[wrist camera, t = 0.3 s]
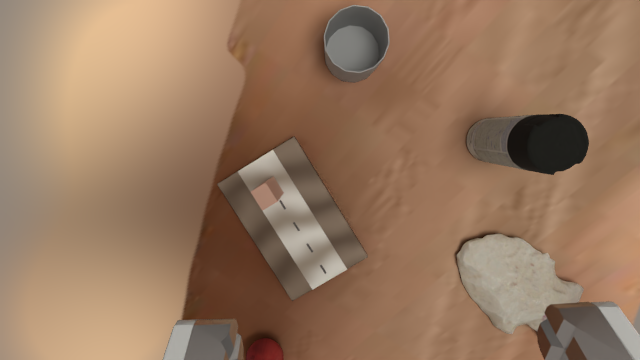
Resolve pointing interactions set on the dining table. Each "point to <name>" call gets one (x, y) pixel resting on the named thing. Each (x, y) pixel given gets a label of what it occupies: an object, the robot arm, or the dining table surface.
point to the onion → (264, 350)
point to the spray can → (530, 142)
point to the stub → (267, 193)
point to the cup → (355, 43)
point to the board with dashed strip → (294, 220)
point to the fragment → (512, 281)
